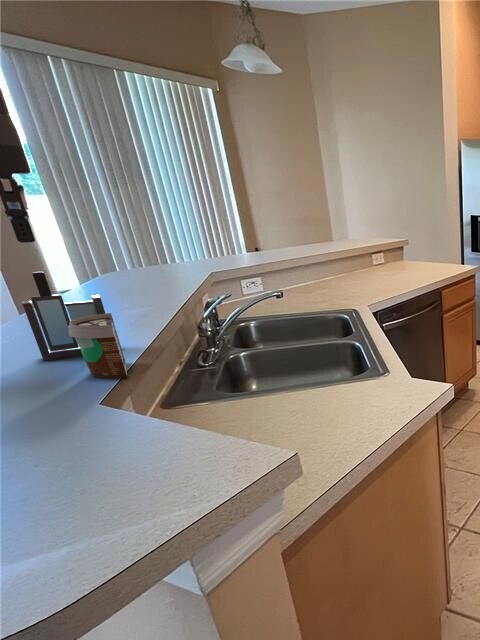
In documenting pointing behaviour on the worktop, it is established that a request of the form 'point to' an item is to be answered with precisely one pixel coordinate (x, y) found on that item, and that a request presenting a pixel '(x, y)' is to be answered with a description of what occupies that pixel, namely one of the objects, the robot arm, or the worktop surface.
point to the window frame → (75, 312)
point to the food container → (99, 345)
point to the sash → (52, 316)
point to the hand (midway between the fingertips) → (26, 240)
